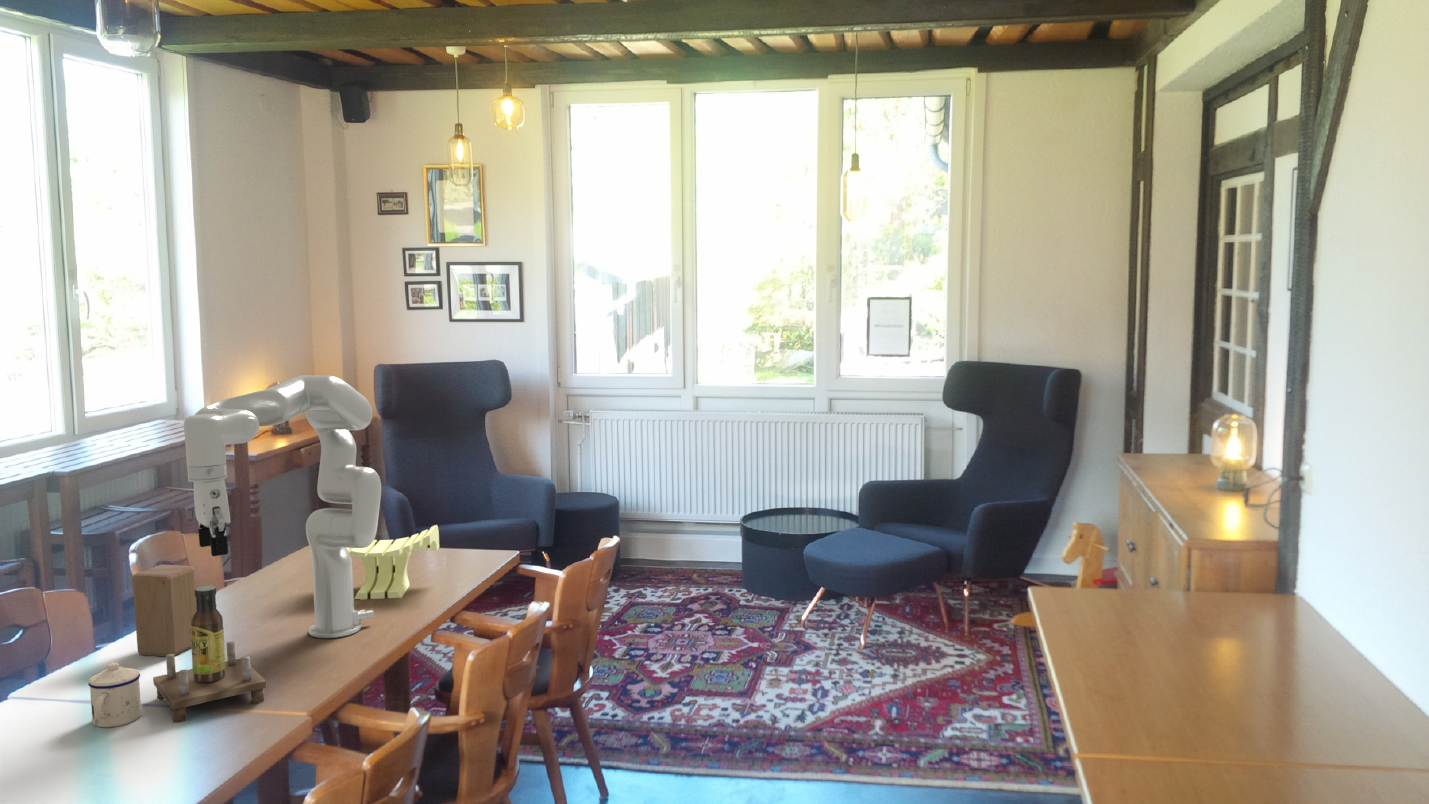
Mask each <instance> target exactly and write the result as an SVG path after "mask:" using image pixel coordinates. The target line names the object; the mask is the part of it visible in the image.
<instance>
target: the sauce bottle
mask: <svg viewBox="0 0 1429 804" xmlns="http://www.w3.org/2000/svg"><path fill="white" fill-rule="evenodd" d="M216 594H217V587H216V586H215V585H201V586H198V587H196V589H195V596H196V605H197V606H196V609H197V611H196V613H195V614H194V616H193V618H192V620H191V645H192V647H191V667H192V668H191V669H192V670H193V673H194V679H195V680H196V681H197V682H204V683H208V682H214V681H218V680H220V679H222V678H223V677H224V676H225V670H224V668H225V662H226V654H225V653H226V652H225V632H224V631H225V630H224V629H225V628H224V621H223V616H222V614H221V612H220V611H219V610H218V609H217V603H216V602H217V601H216V599H217V598H216Z"/></svg>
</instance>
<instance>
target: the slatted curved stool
mask: <svg viewBox="0 0 1429 804" xmlns="http://www.w3.org/2000/svg"><path fill="white" fill-rule="evenodd" d="M419 549H420V551H423V550H426V551H427V550H428V549H430V550H431V551H436V552H437V551H438V550H439V549H440V533H439V527H438V524H436V525H435V524H434V525H432V526H431V527H430V528H429V529H425V530H424V529H423V530H422V531H421V532H420V533H415V534H412V535H411V536H410V537H409V536H407V537H402V538H396V539H395V540H394V539H380V540H377V539H374V540H373V542H372V543H371V544H370V545H369V546H368V547H365V548H347V550H348V552H349V554H350V557H351V558H360V559H361V561H362V564H363V566H364V568H365V574H366V575H365V579H364V582H363V584H362V586H361V587H360V589H359V590H358V591H357V593H356V595H355V596H354V601H355V599H360V600H368V599H370V600H378V599H380V600H381V599H382V600H383V599H385V598H387V599H402V598H403V596H404V595H405V593H406V592H407V590H408V588H409V587H410V581H409V577H408V564H409V561H410V557H411V554H413V553H415V552H417V551H418V550H419Z"/></svg>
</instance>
